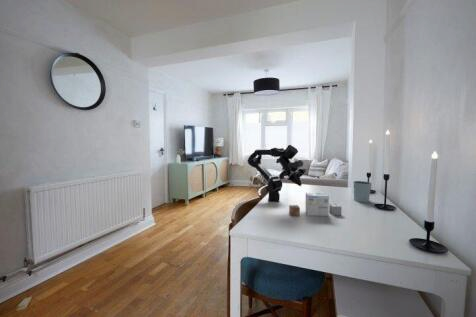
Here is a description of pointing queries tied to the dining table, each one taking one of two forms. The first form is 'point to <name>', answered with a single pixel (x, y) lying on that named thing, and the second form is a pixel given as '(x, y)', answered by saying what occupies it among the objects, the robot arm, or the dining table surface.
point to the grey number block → (335, 209)
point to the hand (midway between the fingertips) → (300, 185)
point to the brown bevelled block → (294, 210)
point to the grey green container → (362, 191)
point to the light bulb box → (317, 204)
